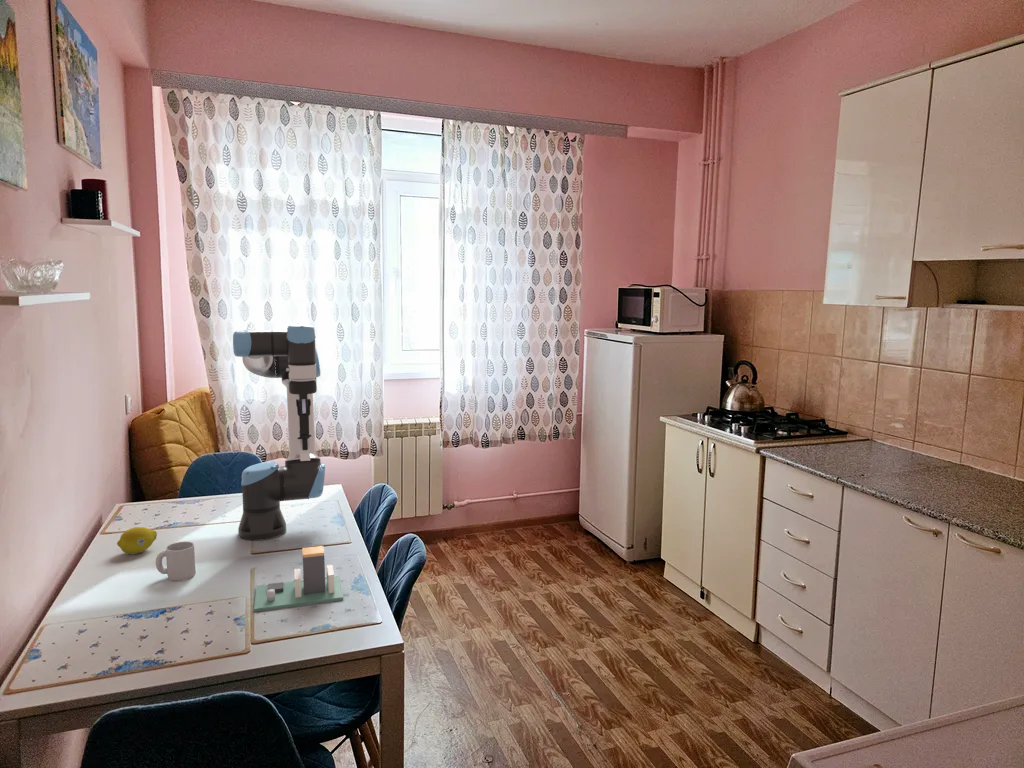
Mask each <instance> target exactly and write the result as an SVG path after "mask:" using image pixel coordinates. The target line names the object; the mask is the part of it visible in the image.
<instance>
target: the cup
mask: <svg viewBox="0 0 1024 768" xmlns="http://www.w3.org/2000/svg"><path fill="white" fill-rule="evenodd" d="M194 543H195V542H191V541H178V542H174V543H171V544H168V545H167V546H166V547H165V550H164V551H161V552H159V553H158V554H157V555H156V558H155V566H156V569H157V571H158V573H160V574H162V575H167V578H168V580H169V581H172V582H183V581H186V580H189V579H191V578H193V577H194V576H195V575H196V556H195V544H194ZM164 557H166V559H165V560H166V561H165V562H166V568H165V567H164V565H163V558H164Z"/></svg>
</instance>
